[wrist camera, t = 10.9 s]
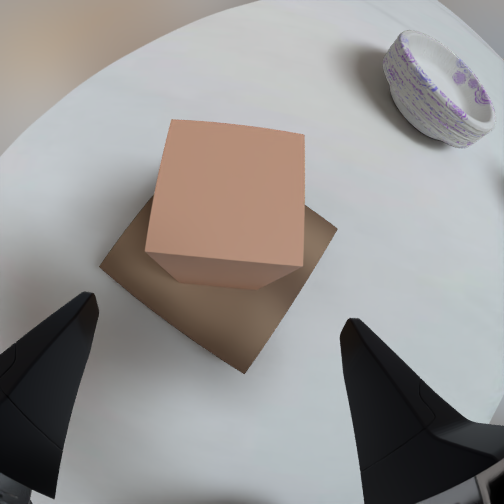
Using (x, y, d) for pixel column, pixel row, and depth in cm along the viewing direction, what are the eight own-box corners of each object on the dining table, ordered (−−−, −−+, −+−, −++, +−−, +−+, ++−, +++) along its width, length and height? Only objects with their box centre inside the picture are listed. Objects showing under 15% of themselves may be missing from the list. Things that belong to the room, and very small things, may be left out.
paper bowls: (472, 133, 31) (505, 108, 23) (438, 180, 27) (484, 150, 19) (402, 57, 32) (427, 24, 24) (347, 82, 28) (375, 35, 20)
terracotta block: (256, 290, 19) (303, 266, 9) (179, 282, 18) (144, 251, 9) (261, 216, 20) (304, 134, 10) (188, 209, 19) (171, 119, 10)
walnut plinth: (240, 366, 21) (244, 374, 18) (112, 272, 21) (98, 266, 18) (323, 238, 24) (337, 228, 21) (204, 157, 24) (203, 138, 21)
